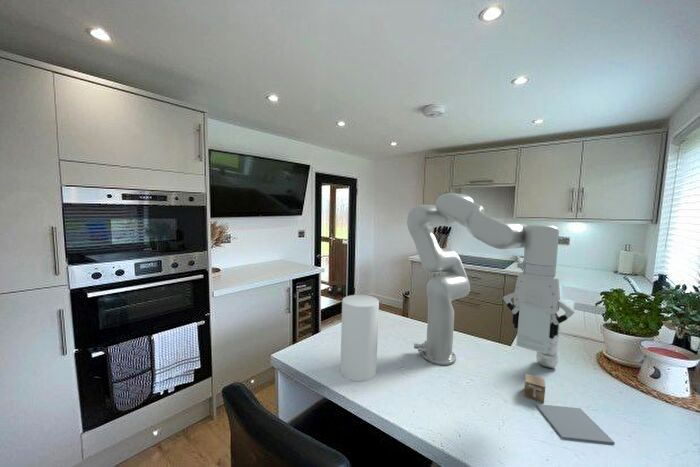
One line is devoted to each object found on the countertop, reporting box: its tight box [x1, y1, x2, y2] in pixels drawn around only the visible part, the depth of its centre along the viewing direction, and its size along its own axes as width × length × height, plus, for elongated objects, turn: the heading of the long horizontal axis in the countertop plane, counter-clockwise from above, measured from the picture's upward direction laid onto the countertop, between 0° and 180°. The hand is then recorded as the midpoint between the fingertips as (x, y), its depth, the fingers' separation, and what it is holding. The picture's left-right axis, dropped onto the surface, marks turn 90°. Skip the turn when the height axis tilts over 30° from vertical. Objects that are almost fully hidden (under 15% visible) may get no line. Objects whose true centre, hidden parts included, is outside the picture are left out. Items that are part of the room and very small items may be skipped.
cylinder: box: [339, 294, 380, 382], centre depth 97 cm, size 12×12×25 cm
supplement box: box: [515, 302, 551, 354], centre depth 79 cm, size 7×7×13 cm
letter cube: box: [523, 373, 546, 403], centre depth 87 cm, size 5×5×5 cm
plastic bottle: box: [535, 320, 561, 369], centre depth 104 cm, size 6×7×20 cm
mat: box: [535, 403, 615, 445], centre depth 76 cm, size 12×12×1 cm
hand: (534, 331), depth 79 cm, fingers closed on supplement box, 8 cm apart
